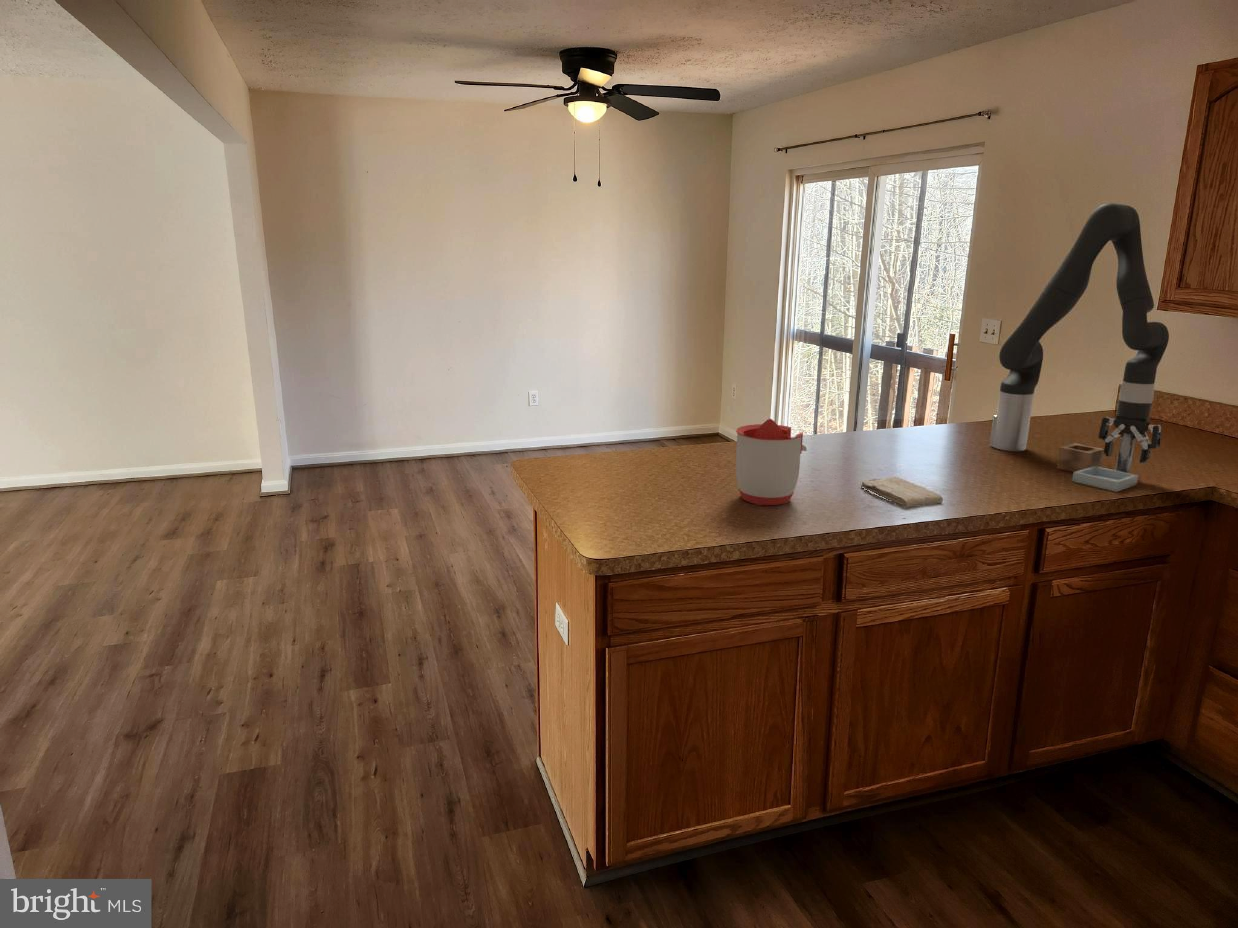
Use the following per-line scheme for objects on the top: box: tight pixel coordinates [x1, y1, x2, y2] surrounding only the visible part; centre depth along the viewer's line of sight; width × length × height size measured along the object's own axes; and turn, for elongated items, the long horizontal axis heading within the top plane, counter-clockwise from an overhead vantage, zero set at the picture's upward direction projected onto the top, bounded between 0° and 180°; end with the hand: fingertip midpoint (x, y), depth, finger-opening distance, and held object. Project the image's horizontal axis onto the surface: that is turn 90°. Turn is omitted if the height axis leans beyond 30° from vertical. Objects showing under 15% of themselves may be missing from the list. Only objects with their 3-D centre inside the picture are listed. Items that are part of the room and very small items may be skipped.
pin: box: [1114, 432, 1136, 473], centre depth 216 cm, size 3×3×12 cm
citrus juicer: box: [735, 418, 807, 506], centre depth 194 cm, size 16×17×20 cm
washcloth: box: [860, 476, 944, 509], centre depth 200 cm, size 12×18×3 cm, turn 23°
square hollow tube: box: [1056, 443, 1105, 473], centre depth 223 cm, size 8×8×6 cm
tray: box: [1071, 466, 1139, 493], centre depth 211 cm, size 11×11×2 cm
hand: (1125, 459), depth 216 cm, fingers open, 8 cm apart
